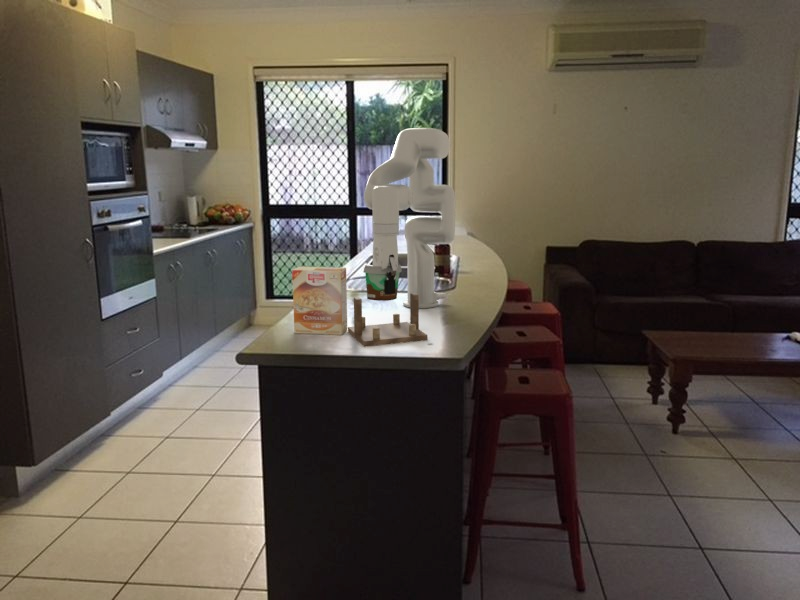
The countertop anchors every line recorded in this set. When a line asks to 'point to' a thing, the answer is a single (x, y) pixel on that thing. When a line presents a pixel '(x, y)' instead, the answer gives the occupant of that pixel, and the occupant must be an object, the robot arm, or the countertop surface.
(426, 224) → the robot arm
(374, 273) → the food container
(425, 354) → the countertop surface
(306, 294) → the coffeecake box
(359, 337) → the peg stand
